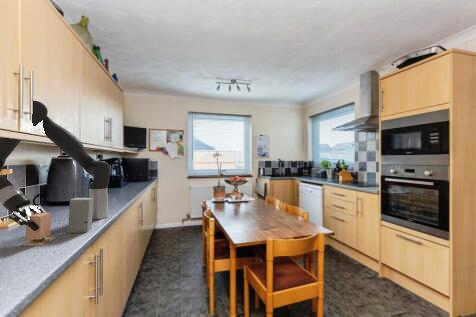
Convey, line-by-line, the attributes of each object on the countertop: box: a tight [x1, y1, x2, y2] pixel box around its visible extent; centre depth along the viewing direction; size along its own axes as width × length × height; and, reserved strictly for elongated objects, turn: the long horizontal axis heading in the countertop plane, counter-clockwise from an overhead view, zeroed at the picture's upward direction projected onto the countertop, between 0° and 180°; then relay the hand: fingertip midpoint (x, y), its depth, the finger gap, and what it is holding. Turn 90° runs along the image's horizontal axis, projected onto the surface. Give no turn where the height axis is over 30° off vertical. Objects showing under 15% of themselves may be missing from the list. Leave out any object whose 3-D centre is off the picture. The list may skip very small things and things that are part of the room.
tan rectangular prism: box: [25, 212, 51, 241], centre depth 97 cm, size 6×6×10 cm
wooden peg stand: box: [20, 236, 56, 247], centre depth 98 cm, size 8×8×8 cm
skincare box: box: [67, 197, 93, 234], centre depth 112 cm, size 8×7×16 cm
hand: (43, 226), depth 98 cm, fingers closed on tan rectangular prism, 5 cm apart
